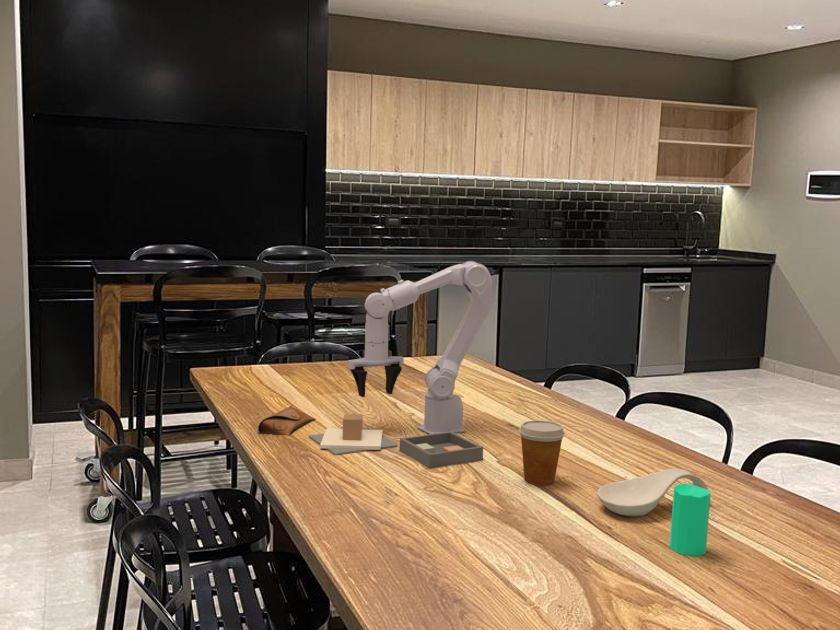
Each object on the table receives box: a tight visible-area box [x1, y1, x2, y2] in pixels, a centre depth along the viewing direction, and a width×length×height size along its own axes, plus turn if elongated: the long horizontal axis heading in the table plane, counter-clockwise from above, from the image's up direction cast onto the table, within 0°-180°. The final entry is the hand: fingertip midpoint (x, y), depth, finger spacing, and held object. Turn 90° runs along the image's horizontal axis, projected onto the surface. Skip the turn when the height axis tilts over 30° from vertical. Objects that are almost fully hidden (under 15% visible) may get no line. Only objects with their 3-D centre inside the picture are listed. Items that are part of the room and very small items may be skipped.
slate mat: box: [308, 427, 398, 456], centre depth 200 cm, size 16×16×1 cm
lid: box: [319, 413, 384, 451], centre depth 200 cm, size 14×14×6 cm
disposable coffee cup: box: [518, 420, 566, 487], centre depth 175 cm, size 10×10×12 cm
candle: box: [669, 481, 712, 557], centre depth 142 cm, size 6×6×12 cm
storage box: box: [399, 432, 484, 469], centre depth 191 cm, size 14×14×3 cm
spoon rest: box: [596, 468, 709, 518], centre depth 162 cm, size 24×12×7 cm, turn 111°
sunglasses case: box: [257, 404, 317, 437], centre depth 213 cm, size 18×7×7 cm
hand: (375, 394), depth 208 cm, fingers open, 7 cm apart
